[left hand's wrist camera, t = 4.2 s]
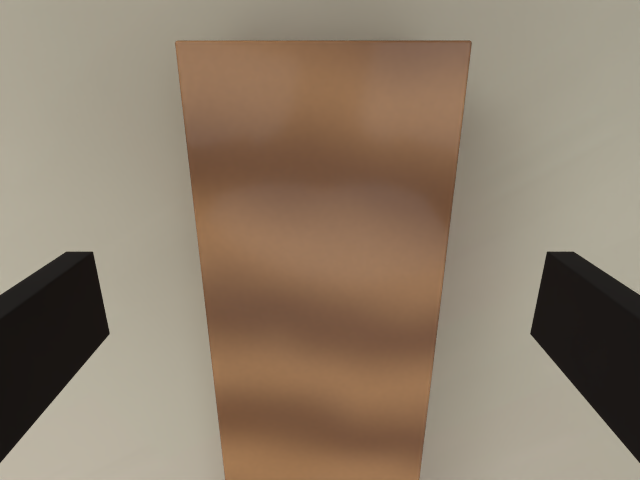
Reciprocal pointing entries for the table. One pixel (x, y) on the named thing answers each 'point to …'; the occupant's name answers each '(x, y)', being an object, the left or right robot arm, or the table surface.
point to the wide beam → (322, 245)
